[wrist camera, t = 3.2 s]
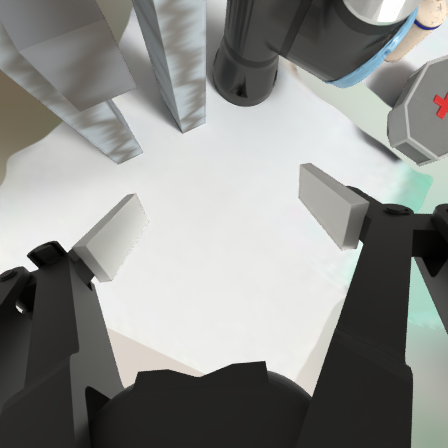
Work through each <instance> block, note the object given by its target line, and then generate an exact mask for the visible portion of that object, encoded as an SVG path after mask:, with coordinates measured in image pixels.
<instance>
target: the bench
mask: <svg viewBox="0 0 448 448" xmlns="http://www.w3.org/2000/svg"><path fill="white" fill-rule="evenodd" d="M132 2H133V6H134V9H135V12H136V15H137V18H138V22H139V25H140V28H141V31H142V34H143V38H144V41H145V44H146V47H147V50H148V54H149V57H150V60H151V63H152V66H153V70H154V73H155V76H156V79H157V82H158V86H159V89H160V92H161V95H162V97H163V99H164V101H165V103H166V104H167V106H168V108H169V110H170V112H171V113H172V115H173V117H174V119H175V121H176V122H177V124H178V126H179V128H180V130H181V131H182V133H185V132H187V131H189V130H191V129H194V128H196V127H198V126H200V125H202V124H204V123H206V0H132ZM0 70H1V71H3V72H4V73H5V74H6V75H8V76H9V77H10V78H11V79H13V80H14V81H15V82H16V83H18V84H19V85H20V86H21V87H23V88H24V89H25V90H27V91H28V92H29V93H30V94H31V95H33V96H34V97H35V98H36V99H38V100H39V101H40V102H41V103H43V104H44V105H45V106H46V107H48V108H49V109H50V110H51V111H52V112H54V113H55V114H56V115H57V116H59V117H60V118H61V119H62V120H64V121H65V122H66V123H67V124H69V125H70V126H71V127H72V128H74V129H75V130H76V131H77V132H79V133H80V134H81V135H82V136H84V137H85V138H86V139H87V140H89V141H90V142H91V143H92V144H94V145H95V146H96V147H97V148H99V149H100V150H101V151H102V152H103V153H105V154H106V155H107V156H108V157H110V158H111V159H112V160H113V161H115V162H116V163H117V164H120V163H123V162H125V161H127V160H129V159H131V158H133V157H135V156H137V155H139V154H141V153H143V151H142V150H141V148H140V146H139V144H138V142H137V141H136V139H135V137H134V135H133V133H132V132H131V130H130V128H129V126H128V124H127V123H126V121H125V119H124V117H123V116H122V114H121V112H120V111H119V109H118V108H117V107H116V105H115V104H114V102H113V101H112V99H109V100H107V101H105V102H102V103H100V104H98V105H95V106H93V107H91V108H88V109H86V110H84V111H81V112H80V111H79V110H77V109H76V108H75V107H74V106H73V105H72V104H71V103H70V102H69V101H68V100H67V99H66V98H65V97H64V96H63V95H62V94H61V93H60V92H59V91H58V90H57V89H56V88H55V87H54V86H53V85H52V84H51V83H50V82H49V81H48V80H47V79H46V78H45V77H44V76H43V75H42V74H41V73H40V72H39V71H38V70H37V69H36V68H34V67H33V66H32V65H31V64H30V63H29V62H28V61H27V60H26V59H25V58H24V57H23V56H22V55H21V54H20V53H19V52H18V51H17V49H16V47H15V45H14V43H13V42H12V40H11V38H10V36H9V34H8V33H7V31H6V29H5V27H4V26H3V24H2V22H1V20H0Z"/></svg>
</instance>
